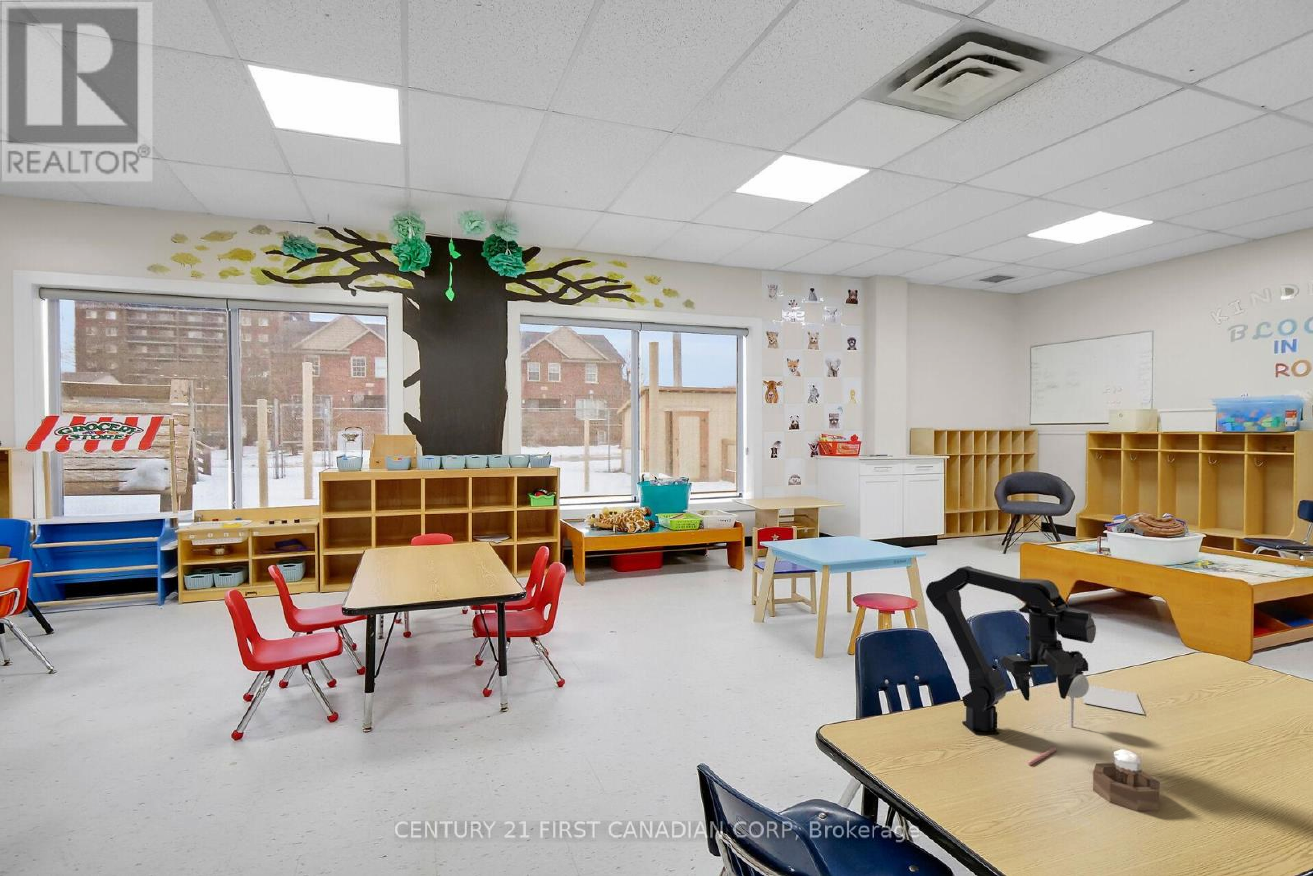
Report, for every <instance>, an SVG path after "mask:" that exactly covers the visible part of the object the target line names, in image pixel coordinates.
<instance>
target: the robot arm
mask: <svg viewBox="0 0 1313 876" xmlns="http://www.w3.org/2000/svg"><path fill="white" fill-rule="evenodd" d="M967 585H972V586H977V587H981V588H984V589H988V590H993V591H997V592H1000V593H1004V594H1008V595H1010V596H1013V597H1015V598H1016V599H1018V600H1019V601H1022V602H1023V603H1025V604H1024V605H1023V607H1021V608H1018V612H1020V613H1024V614H1028V630H1029V631H1028V632H1029V634H1026V635H1025V640H1027V641H1029V651H1026V652H1025V653H1026V655H1025V656H1026V657H1028V658H1027V659H1026V658H1024V657H1022V656H1019V655H1017V654H1008V655H1002V656H1001V658H1000V660H999V661H1000V667H1001V668H1002V669H1005V671H1008V673H1010V674H1011V676H1012V677H1013V679H1014V680H1015V682H1016V684H1017V686H1018V689H1019V691H1020V692H1021V693H1020V694H1022V696H1023V698H1024V700H1025V701H1027V702H1029V700H1030V694H1031V693H1030V680H1031V678H1032V677H1033V675H1032V674H1031V673H1030V672H1031V671H1032V668H1035V669H1036V668H1050V669H1051V670H1052V672H1053V673H1054V674H1055V675H1056V679H1057V680H1058V686H1057V688H1058V687H1059V688H1058V691H1059V695H1060V696H1059V697H1060V698H1061V699H1062V700H1065V699H1066V698H1067V697H1068V696H1067V693H1068V691H1069V688H1070V686H1071V684H1072V682H1073V680H1074V678H1075V677H1077V676H1078V675H1082V674H1083V675H1084V672H1088V671H1089V663H1088V661H1087V660H1086V657H1083V653H1081V652H1080V651H1079V650H1073V651H1072V650H1071V651H1069V650H1068V651H1067V650H1064V648H1063V643H1062V640H1059V639H1058V635H1059V636H1061V637H1062V639H1067V640H1072V641H1078V642H1083V643H1088V644H1093V643H1094V641H1095V638H1096V635H1097V634H1096V633H1097V627H1096V625H1095V620H1094V619H1093V618H1092V613H1091V612H1090V611H1080V610H1073V609H1071V607H1070V606H1069V604H1068V603H1067V602H1066V601H1065V599H1064V598H1063V597H1062V596H1061V594H1060V590H1059V588H1058V587H1057V585H1056V584H1055V583H1054V582H1053V581H1052V580H1048V579H1042V578H1041V579H1040V578H1017V577H1013V576H1008V575H1005V574H1004V575H1003V574H1000V573H996V572H992V571H987V570H982V569H979V568H975V567H972V566H969V565H966V566H962V567H958V568H957V569H955V570H954V571H953V572H952V573H950V574H948V575H946V576H944V577H943V578H941V579H938V580H935V581H932V582H929V583H928V584H927V586H926V588H925V594H926V596H927V599H928V600H929V601H930V603H931V605H932V606H933V608H934V609H936V611H938V612H939V613H940V614H941V615H942V616H943V618H944V621H945V622H946V624H947V626H948V628H949V630H950V633H951V635H952V637H953V639H954V641H955V644H956V646H957V648H958V651H959V652H960V654H961V656H962V658H963V660H964V663H965V664H966V667H967V669H968V683H969V687H970V692H969V693H967V694H964V696H962V698H961V699H962V703H963V706H964V707H965V720H962V722H961V723H962V724H963V725H964V726H965V727H966V728H968V730H970V731H971V732H972V733H974V734H975V735H999V734H1000V730H999V729H998V712H997V707H996V706H995V705H997V704H998V703H999V701H1000V700H1003V699H1004V698H1005V696H1006V694H1007V691H1008V690H1007V686H1006V685H1008V683H1007V682H1006V680H1005V679H1004V678H1003V676H1002V671H1001V670H1000V668H995V669H994V668H992V667H991V666H990V665H989V664H988V662H987V661H986V660H987V659H985V657H984V654H983V653H982V650H981V648H980V646H979V644H978V642H977V640H976V637H975V635H974V634H973V631H972V629H971V627H970V625H969V623H968V621H967V619H966V617H965V615H964V613H963V610H962V597H961V594H960V590H962V589H964V588H965V587H967ZM1029 658H1030V659H1029ZM1057 680H1056V681H1057Z"/></svg>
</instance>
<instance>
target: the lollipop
mask: <svg viewBox="0 0 1313 876" xmlns="http://www.w3.org/2000/svg"><path fill="white" fill-rule="evenodd" d="M1089 683H1090V682H1089V680H1088V678H1087V677H1086V675H1085V674H1084V673H1083V674H1082V675H1078V676H1077V677H1075V678H1074V680H1073V682H1072V684H1071V686H1070V688H1069V691H1068V693H1067V696H1066V697H1068V698H1070V715H1069V717H1070V718H1069V719H1070V720H1069V722H1070V723H1069V727H1070V728H1074V712H1075V711H1074V707H1075V704H1074V701H1075V699H1078V698H1082V696H1084V695H1085V694H1086V693H1087V692H1088V689H1089V685H1090V684H1089ZM1056 685H1057V688H1058V689H1059V687H1058V680H1057V678H1056Z"/></svg>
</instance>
